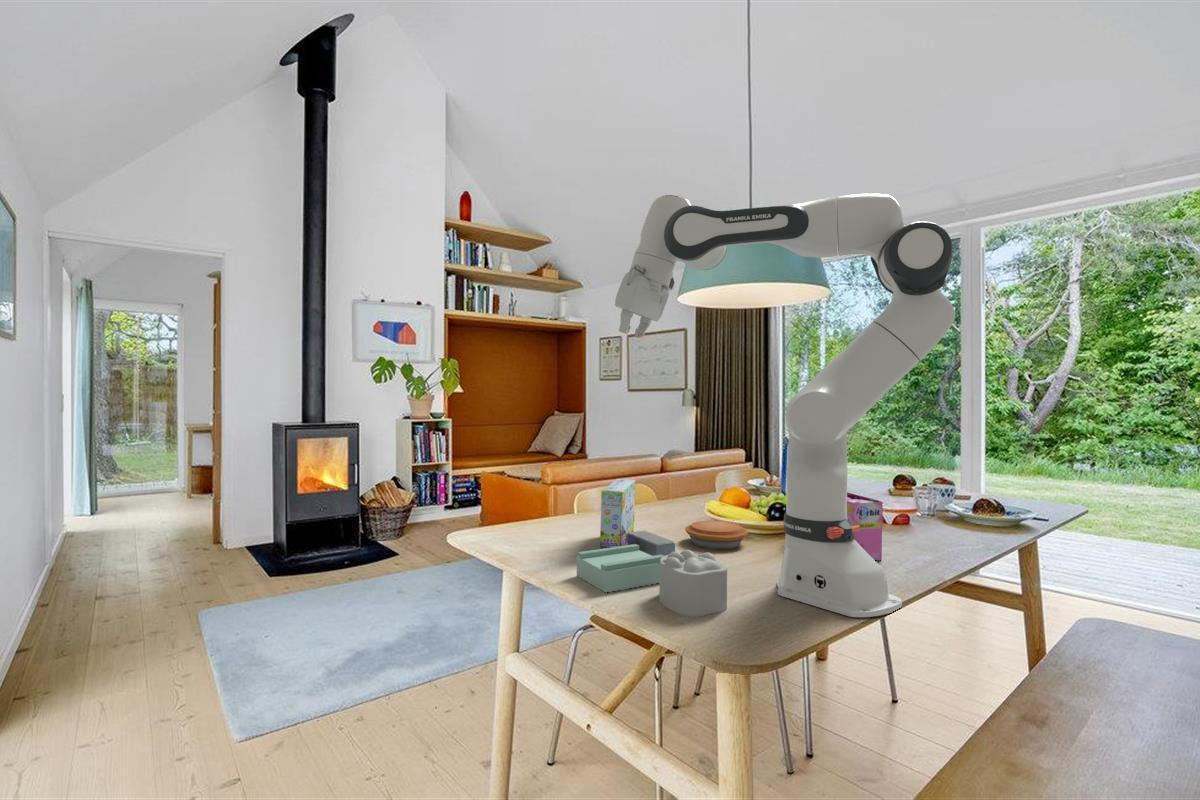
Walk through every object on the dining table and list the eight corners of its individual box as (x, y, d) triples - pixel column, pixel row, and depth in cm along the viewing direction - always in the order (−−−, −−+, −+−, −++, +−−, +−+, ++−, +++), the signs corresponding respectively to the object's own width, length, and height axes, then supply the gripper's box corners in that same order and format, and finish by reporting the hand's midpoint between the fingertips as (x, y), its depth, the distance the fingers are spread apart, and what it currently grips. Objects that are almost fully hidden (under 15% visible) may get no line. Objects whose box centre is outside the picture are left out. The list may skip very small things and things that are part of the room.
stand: (666, 581, 119) (666, 557, 119) (606, 593, 112) (606, 566, 112) (634, 566, 129) (634, 543, 129) (576, 575, 122) (576, 551, 122)
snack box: (622, 556, 137) (623, 491, 137) (598, 555, 139) (599, 490, 138) (635, 534, 158) (636, 478, 158) (614, 533, 159) (615, 477, 159)
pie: (674, 538, 155) (675, 519, 155) (727, 534, 159) (728, 516, 159) (702, 554, 140) (702, 533, 140) (759, 549, 145) (760, 528, 145)
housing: (674, 564, 132) (675, 541, 132) (656, 567, 130) (656, 544, 130) (644, 551, 143) (644, 530, 143) (627, 553, 140) (627, 532, 140)
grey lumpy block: (685, 619, 100) (685, 567, 100) (646, 595, 111) (646, 549, 111) (735, 609, 104) (735, 560, 104) (692, 587, 116) (692, 543, 116)
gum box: (795, 537, 157) (795, 486, 157) (821, 536, 159) (822, 485, 158) (852, 563, 133) (853, 502, 133) (883, 561, 135) (884, 501, 135)
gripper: (648, 265, 116) (627, 334, 118) (677, 284, 135) (658, 343, 136) (619, 258, 118) (599, 325, 120) (651, 278, 137) (633, 335, 139)
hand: (631, 335), depth 128 cm, fingers open, 8 cm apart
